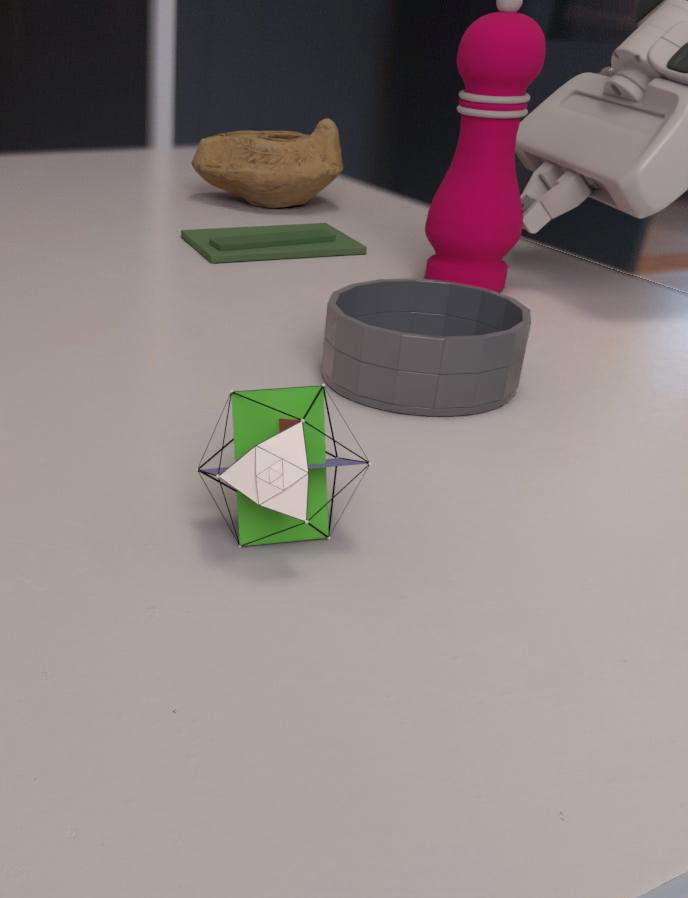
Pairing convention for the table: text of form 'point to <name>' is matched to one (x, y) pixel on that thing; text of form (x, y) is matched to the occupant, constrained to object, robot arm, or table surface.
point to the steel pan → (424, 346)
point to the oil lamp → (271, 164)
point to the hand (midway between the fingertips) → (518, 223)
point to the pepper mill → (485, 151)
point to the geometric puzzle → (280, 465)
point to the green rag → (271, 242)
